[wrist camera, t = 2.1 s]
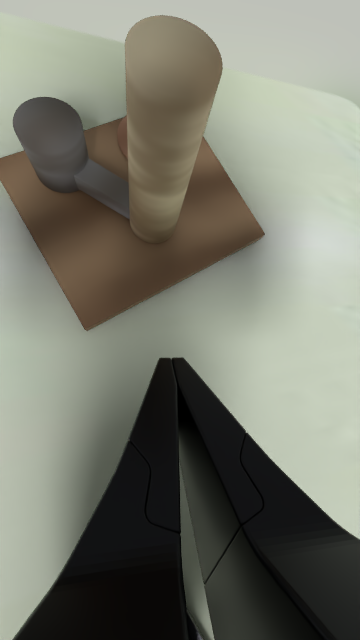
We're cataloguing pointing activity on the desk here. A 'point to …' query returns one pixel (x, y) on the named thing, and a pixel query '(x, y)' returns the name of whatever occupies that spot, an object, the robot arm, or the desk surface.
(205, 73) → the crank handle
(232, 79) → the desk surface
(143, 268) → the brown board
